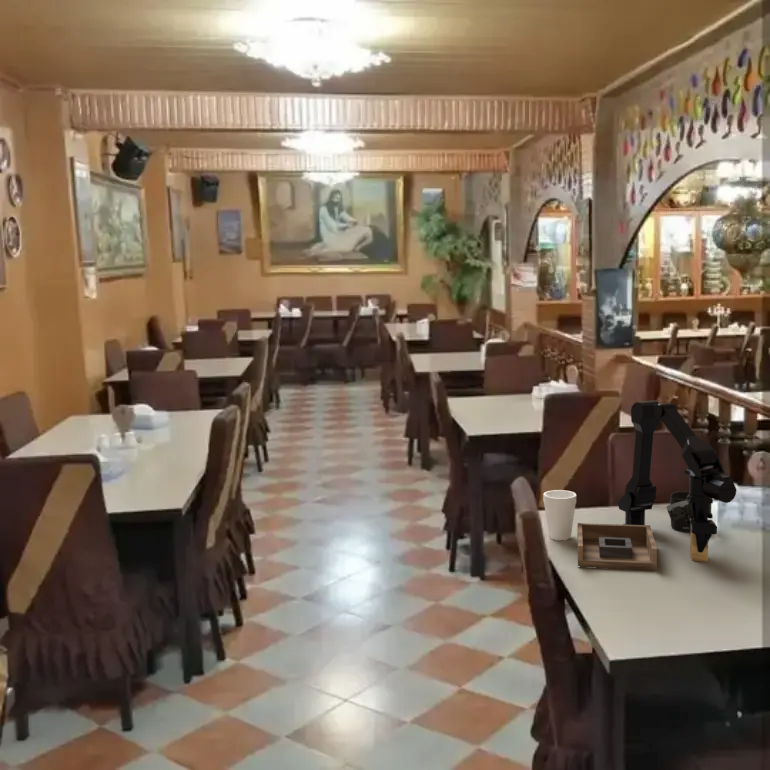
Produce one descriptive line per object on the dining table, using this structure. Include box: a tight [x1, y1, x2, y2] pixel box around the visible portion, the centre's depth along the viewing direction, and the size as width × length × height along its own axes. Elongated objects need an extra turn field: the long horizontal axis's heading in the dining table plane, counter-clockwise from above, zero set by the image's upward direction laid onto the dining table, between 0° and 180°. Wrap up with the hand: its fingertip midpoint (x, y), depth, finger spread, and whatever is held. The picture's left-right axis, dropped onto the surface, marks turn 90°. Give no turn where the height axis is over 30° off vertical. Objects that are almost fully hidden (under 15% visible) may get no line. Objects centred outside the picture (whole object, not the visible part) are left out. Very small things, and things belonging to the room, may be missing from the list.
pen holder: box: [669, 491, 691, 533], centre depth 264 cm, size 9×9×10 cm
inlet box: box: [576, 522, 658, 572], centre depth 242 cm, size 20×20×6 cm
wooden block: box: [689, 532, 709, 562], centre depth 238 cm, size 4×4×8 cm
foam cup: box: [542, 489, 577, 541], centre depth 259 cm, size 10×9×13 cm
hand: (699, 549), depth 239 cm, fingers closed on wooden block, 4 cm apart
